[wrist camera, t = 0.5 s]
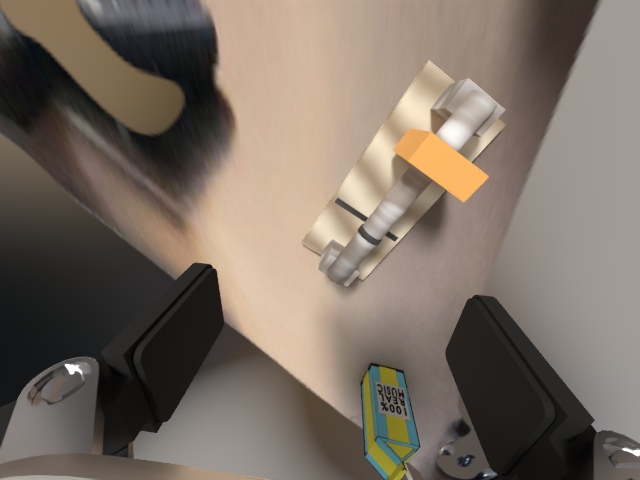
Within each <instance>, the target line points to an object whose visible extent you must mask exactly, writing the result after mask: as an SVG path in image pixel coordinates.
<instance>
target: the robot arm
mask: <svg viewBox="0 0 640 480" xmlns="http://www.w3.org/2000/svg"><path fill="white" fill-rule="evenodd" d="M223 325H224V318H223V311H222V304H221V298H220V291H219V284H218V277H217V271H216V269H213V267H212V265H210V264H203V263H194V264H192V265H191V266H190V267H189V268H188V269H187V270H186V271H185V272H184V273H183V274H182V275H181V276H180V277H179V278H178V279H177V280H176V281H174V282H173V283H172V284H171V285H170V286H169V287H168V288H167V289H166V290H165V291H164V292H163V293H162V294H161V295H160V296H159V297H158V298H157V299H156V300H155V301H154V302H153V303H152V304H151V305H150V306H149V307H147V309H145V310H144V311H143V312H142V313H141V314H140V315H139V316H138V317H137V318H136V319H135V320H134V321H133V322H132V323H131V324H130V325H129V326H128V327H127V328H126V329H125V330H124V331H123V332H122V333H121V334H119V336H117V337H116V338H115V339H114V340H113V341H112V342H111V343H110V344H109V345H108V346H107V347H106V348H105V349H104V350H103V351H102V355H101V356H100V357H99V358H98V359H97V360H95V359H93V358H89V357H77V358H73V359H69V360H66V361H63V362H61V363H59V364H56V365H54V366H52V367H50V368H49V369H47V370H45V371H43V372H42V373H41V374H39V375H38V376H37V377H35V378H34V379H33V380H32V381H31V382H30V383H29V384H28V385H27V386H26V387H25V388H24V389H23V391H22V392H21V394H20V396H19V398H18V400H17V401H15V402H12V403H10V404H8V405H5V406H3V407H0V480H271V479H265V478H259V477H252V476H246V475H240V474H233V473H227V472H221V471H214V470H207V469H201V468H195V467H189V466H182V465H176V464H170V463H161V462H155V461H147V460H140V459H134V452H133V451H134V449H133V441H134V440H135V438H136V437H137V435H138V433H139V432H140V431H147V432H154V433H157V431H158V430H159V428H160V426H161V425H162V423H163V422H166V421H168V420H169V419H170V418H171V416H172V414H173V413H174V411H175V409H176V408H177V406H178V404H179V402H180V401H181V399H182V397H183V396H184V394H185V392H186V391H187V389H188V387H189V385H190V384H191V382H192V380H193V379H194V377H195V375H196V373H197V372H198V370H199V368H200V367H201V365H202V363H203V361H204V359H205V358H206V356H207V355H208V353H209V351H210V349H211V348H212V346H213V344H214V343H215V341H216V339H217V337H218V336H219V334H220V332H221V331H222V328H223ZM446 360H447V362H448V365H449V367H450V370H451V372H452V375H453V377H454V379H455V382H456V384H457V387H458V389H459V392H460V394H461V397H462V399H463V402H464V404H465V407H466V409H467V411H468V414H469V417H470V419H471V421H472V424H473V426H474V429H475V431H476V434H477V436H478V439H479V441H480V444H481V446H482V449H483V451H484V454H485V456H486V458H487V461H488V463H489V465H490V467H491V469H492V470H493V471H494V472H495V473H497V474H498V477H499V479H500V480H640V443H638V442H637V441H634V440H633V439H631V438H629V437H627V436H625V435H623V434H620V433H617V432H613V431H607V430H602V431H600V432H596V430H595V429H594V428H593V427H592V425H591V424H592V423H593V422H594V421H595V420H594V419H593V418H592V416H591V415H590V414H589V413H588V411H587V410H586V409H585V408H584V407H583V405H582V404H581V403H580V402H579V400H578V399H577V398H576V397H575V395H574V394H573V393H572V392H571V390H570V389H569V388H568V387H567V385H566V384H565V383H564V382H563V381H562V379H561V378H560V377H559V376H558V374H557V373H556V372H555V371H554V369H553V368H552V367H551V366H550V365H549V363H548V362H547V361H546V360H545V358H544V357H543V356H542V355H541V353H540V352H539V351H538V350H537V349H536V347H535V346H534V345H533V344H532V342H531V341H530V340H529V339H528V337H527V336H526V335H525V334H524V332H523V331H522V330H521V329H520V328H519V326H518V325H517V324H516V323H515V321H514V320H513V319H512V318H511V316H510V315H509V314H508V313H507V311H506V310H505V309H504V308H503V307H502V305H501V304H500V303H499V302H498V301H497V299H495V298H494V297H491V296H482V295H474V296H473V297H472V298H470V299H468V300H467V302H466V304H465V307H464V309H463V311H462V314H461V316H460V318H459V320H458V323H457V325H456V327H455V330H454V332H453V334H452V337H451V339H450V341H449V343H448V346H447V348H446Z"/></svg>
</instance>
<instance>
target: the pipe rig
mask: <svg viewBox="0 0 640 480" xmlns="http://www.w3.org/2000/svg"><path fill="white" fill-rule="evenodd" d="M504 111H505V109H504V108H503V107H502V106H501V105H499V104H498V103H497V102H496V101H495V100H494V99H492V98H491V97H490V96H489V95H488V94H487V93H485V92H484V91H483V90H482V89H481V88H479V87H478V86H477V85H476V84H475V83H474V82H472V81H471V80H470V79H469V78H468V79H465V80H462V81H459V82H454V81H453V80H452V79H451V78H450V77H448V76H447V75H446V74H445V73H444V72H442V71H441V70H440V69H439V68H438V67H436V66H435V65H434V64H433V63H432V62H431V61H427V62H426V63H425V65H424V66H423V68H422V69H421V71H420V72H419V74H418V75H417V76H416V78H415V79H414V81H413V82H412V84H411V85H410V87H409V88H408V89H407V91H406V92H405V94H404V95H403V97H402V98H401V99H400V101H399V102H398V104H397V105H396V107H395V108H394V110H393V111H392V112H391V114H390V115H389V117H388V118H387V120H386V121H385V123H384V124H383V125H382V127H381V128H380V130H379V131H378V133H377V134H376V135H375V137H374V138H373V140H372V141H371V143H370V144H369V146H368V147H367V148H366V150H365V151H364V153H363V154H362V156H361V157H360V159H359V160H358V161H357V163H356V164H355V166H354V167H353V169H352V170H351V171H350V173H349V174H348V176H347V177H346V179H345V180H344V182H343V183H342V184H341V186H340V187H339V189H338V190H337V192H336V193H335V195H334V196H333V197H332V199H331V200H330V202H329V203H328V205H327V206H326V208H325V209H324V210H323V212H322V213H321V215H320V216H319V218H318V219H317V220H316V222H315V223H314V225H313V226H312V228H311V229H310V231H309V232H308V233H307V235H306V236H305V238H304V239H303V241H302V243H301V244H303V245H305V246H306V247H308V248H310V249H311V250H313V251H314V252H316V253H318V254H319V255H321V259H320V264H319V270H320V271H321V272H323V273H325V274H327V275H328V277H329V278H330V279H331V280H332V281H333V282H335V283H337V284H343V285H345V286H347V287H348V286H349V285H350V284H351V282H352V281H353V280H354V279H355V278H356V277H357V278H359V279H361V280H362V281H363V280H364V279H365V278H366V277H367V276H368V275H369V274H370V272H371V271H372V270H373V269H374V268H375V267H376V266H377V265H378V264H379V263H380V262H381V261H382V259H383V258H384V257H385V256H386V255H387V254H388V253H389V252H390V251H391V250H392V249H393V247H394V246H395V245H396V244H397V243H398V242H399V241H400V240H401V239H402V238H403V237H404V235H405V234H406V233H407V232H408V231H409V230H410V229H411V228H412V227H413V226H414V225H415V223H416V222H417V221H418V220H419V219H420V218H421V217H422V216H423V215H424V214H425V213H426V211H427V210H428V209H429V208H430V207H431V206H432V205H433V204H434V203H435V202H436V201H437V200H438V198H439V197H440V196H441V195H442V194H443V193H444V192H445V191H446V189H445V188H443V187H442V186H440V185H439V184H438V183H436V182H435V181H433V180H432V179H431V178H430V177H428V176H427V175H426V174H424V173H423V172H422V171H420V170H419V169H417V168H416V167H415V166H413V165H412V164H410V163H409V162H408V161H406V160H405V159H403V158H402V157H401V156H399V155H398V154H397V153H395V152H394V151H393V149H394V148H395V147H396V145H397V144H398V143H399V141H400V140H401V139H402V137H403V136H404V135H405V133H406V132H407V131H408V129H409V128H412V129H418V130H424V131H430V132H432V133H434V134H435V135H436V136H438V137H439V138H440V139H441V140H443V141H444V142H445V143H447V144H448V145H449V146H450V147H452V148H453V149H454V150H456V151H457V152H458V153H459V154H461V155H462V156H463V157H465V158H466V159H467V160H468V161H470V162H472V161H473V160H474V159H475V158H476V157H477V156H478V155H479V154H480V153H481V152H482V150H483V149H484V148H485V147H486V146H487V145H488V144H489V143H490V142H491V141H492V140H493V139H494V137H495V136H496V135H497V134H498V133H499V132H500V131H501V130H502V129H503V128H504V127H505V125H506V124H504V123H503V122H502V121H501V120H500V119H499V117H500V116H501V114H502V113H503V112H504Z"/></svg>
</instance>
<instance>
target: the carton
mask: <svg viewBox="0 0 640 480" xmlns="http://www.w3.org/2000/svg"><path fill="white" fill-rule="evenodd" d="M361 399H362V418H363V436H364V454H365V458H366V459H367V460H368V461H369V463H370V464H371V465H372V466H373V467H374V468H375V470H377V472H378V473H379V474H380V475H381V476H382V477H383V479H384V480H400V479H401V478H402V477H403V475H404V474H406V476H407V478H408V480H413V478H412V476H411V474H410V472H409V470H408V468H407V466H406V463H407V462H408V461H409V460H410V458H411V457H412V456H413V455H414V454H415V452H416V451H417V450H418V449H419V448H420V442H419V438H418V434H417V429H416V425H415V420H414V416H413V411H412V407H411V403H410V398H409V394H408V389H407V385H406V380H405V376H404V372H403V371H402V370H398V369H394V368H390V367H386V366H382V365H378V364H374V363H371V364H370V366H369V368H368V370H367V372H366V374H365V376H364V378H363V379H362V381H361Z"/></svg>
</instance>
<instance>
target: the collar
mask: <svg viewBox="0 0 640 480" xmlns="http://www.w3.org/2000/svg"><path fill="white" fill-rule="evenodd" d="M393 151H394V152H395V153H397V154H398V155H399V156H401V157H402V158H403V159H405V160H406V161H408V162H409V163H410V164H412V165H413V166H415V167H416V168H417V169H419V170H420V171H422V172H423V173H424V174H426V175H427V176H428V177H430V178H431V179H432V180H433V181H435V182H436V183H438V184H439V185H440V186H442V187H443V188H445V189H446V190H447V191H449V192H450V193H451V194H453V195H454V196H456V197H457V198H458V199H460V200H461V201H463V202H465V201H466V200H467V199H468V198H469V197H470V196H471V195H472V194H473V193H474V192H475V191H476V190H477V189H478V188H479V187H480V186H481V185H482V184H483V183H484V181H485V180H486V179H487V178H488V177H489V176H488V175H486V174H485V173H484V172H483V171H481V170H480V169H479V168H477V167H476V166H475V165H474V164H472V163H471V162H470V161H468V160H467V159H466V158H465V157H463V156H462V155H461V154H459V153H458V152H457V151H456V150H454V149H453V148H452V147H450V146H449V145H448V144H447V143H445V142H444V141H443V140H441V139H440V138H439V137H438V136H436V135H435V134H434V133H432V132H430V131H424V130H418V129H412V128H409V129H408V131H407V132H406V133H405V135H404V136H403V137H402V139H401V140H400V141H399V143H398V144H397V145H396V147H395V148H394V149H393Z"/></svg>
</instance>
